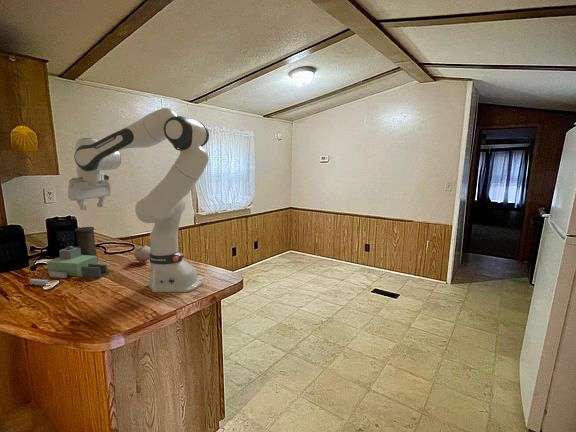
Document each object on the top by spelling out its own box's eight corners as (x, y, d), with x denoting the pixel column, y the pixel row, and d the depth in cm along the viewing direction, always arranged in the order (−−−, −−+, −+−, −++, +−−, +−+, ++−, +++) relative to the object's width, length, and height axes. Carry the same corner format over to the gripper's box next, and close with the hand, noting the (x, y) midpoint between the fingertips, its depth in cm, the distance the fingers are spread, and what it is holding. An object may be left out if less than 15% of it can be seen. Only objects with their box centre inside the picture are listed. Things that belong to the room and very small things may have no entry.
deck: (98, 267, 155) (96, 245, 153) (54, 286, 131) (51, 260, 129) (70, 265, 157) (67, 243, 155) (22, 283, 134) (18, 258, 132)
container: (100, 261, 164) (97, 228, 161) (81, 265, 157) (77, 230, 154) (94, 258, 170) (91, 225, 166) (75, 261, 163) (71, 228, 160)
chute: (90, 273, 147) (89, 263, 146) (107, 274, 145) (106, 264, 144) (82, 277, 142) (81, 266, 141) (99, 278, 140) (98, 268, 140)
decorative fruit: (149, 265, 159) (148, 246, 158) (132, 265, 158) (131, 246, 156) (155, 259, 168) (153, 241, 167) (139, 259, 167) (137, 241, 166)
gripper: (75, 178, 124) (78, 212, 126) (112, 176, 144) (114, 205, 146) (62, 177, 125) (65, 211, 127) (100, 175, 145) (102, 205, 147)
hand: (92, 208), depth 137 cm, fingers open, 8 cm apart
